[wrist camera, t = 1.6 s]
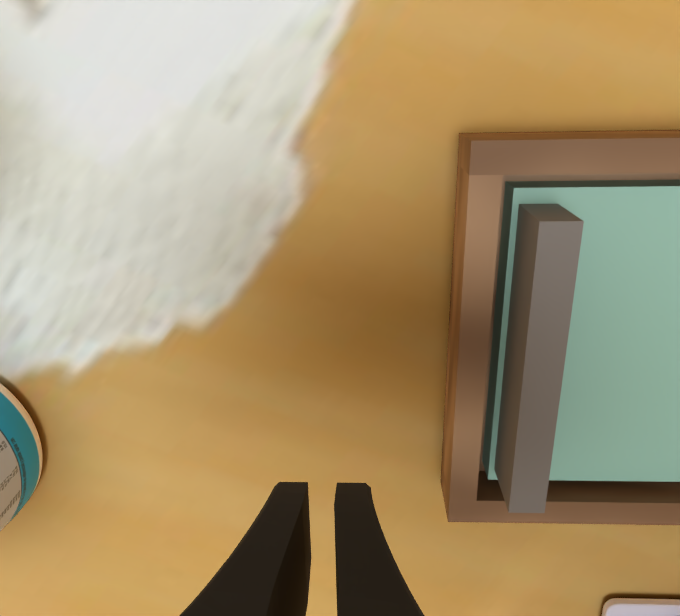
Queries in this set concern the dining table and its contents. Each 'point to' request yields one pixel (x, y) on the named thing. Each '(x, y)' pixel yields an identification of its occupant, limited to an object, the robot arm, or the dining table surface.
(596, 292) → the cover plate
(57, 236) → the dining table surface
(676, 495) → the walnut box
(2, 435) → the beverage bottle
